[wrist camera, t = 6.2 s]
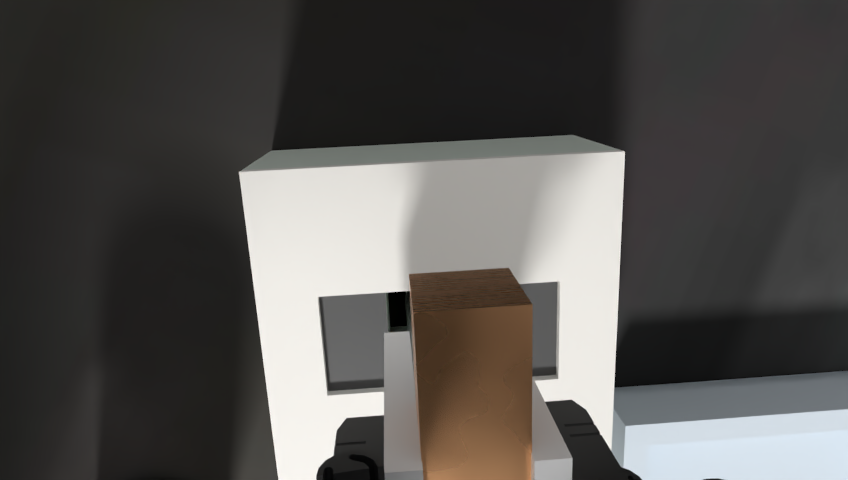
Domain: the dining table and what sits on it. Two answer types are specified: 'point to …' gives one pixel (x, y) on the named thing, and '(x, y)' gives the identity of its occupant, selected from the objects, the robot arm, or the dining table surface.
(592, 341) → the socket
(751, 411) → the tray
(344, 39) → the dining table surface
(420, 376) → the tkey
